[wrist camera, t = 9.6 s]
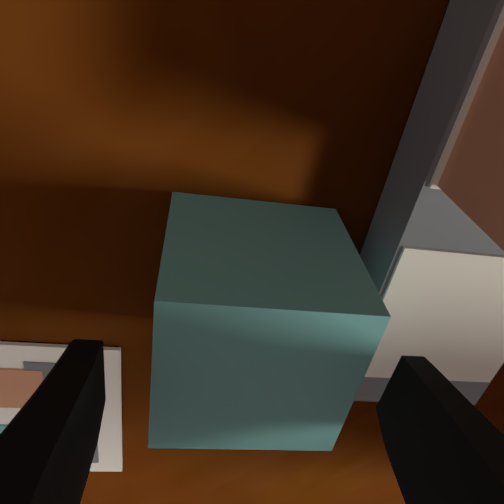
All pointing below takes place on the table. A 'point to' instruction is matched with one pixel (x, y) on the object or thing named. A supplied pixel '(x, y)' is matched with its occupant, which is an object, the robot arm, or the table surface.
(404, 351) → the base plate
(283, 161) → the table surface
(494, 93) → the salmon orange cube
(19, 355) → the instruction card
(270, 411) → the teal cube
